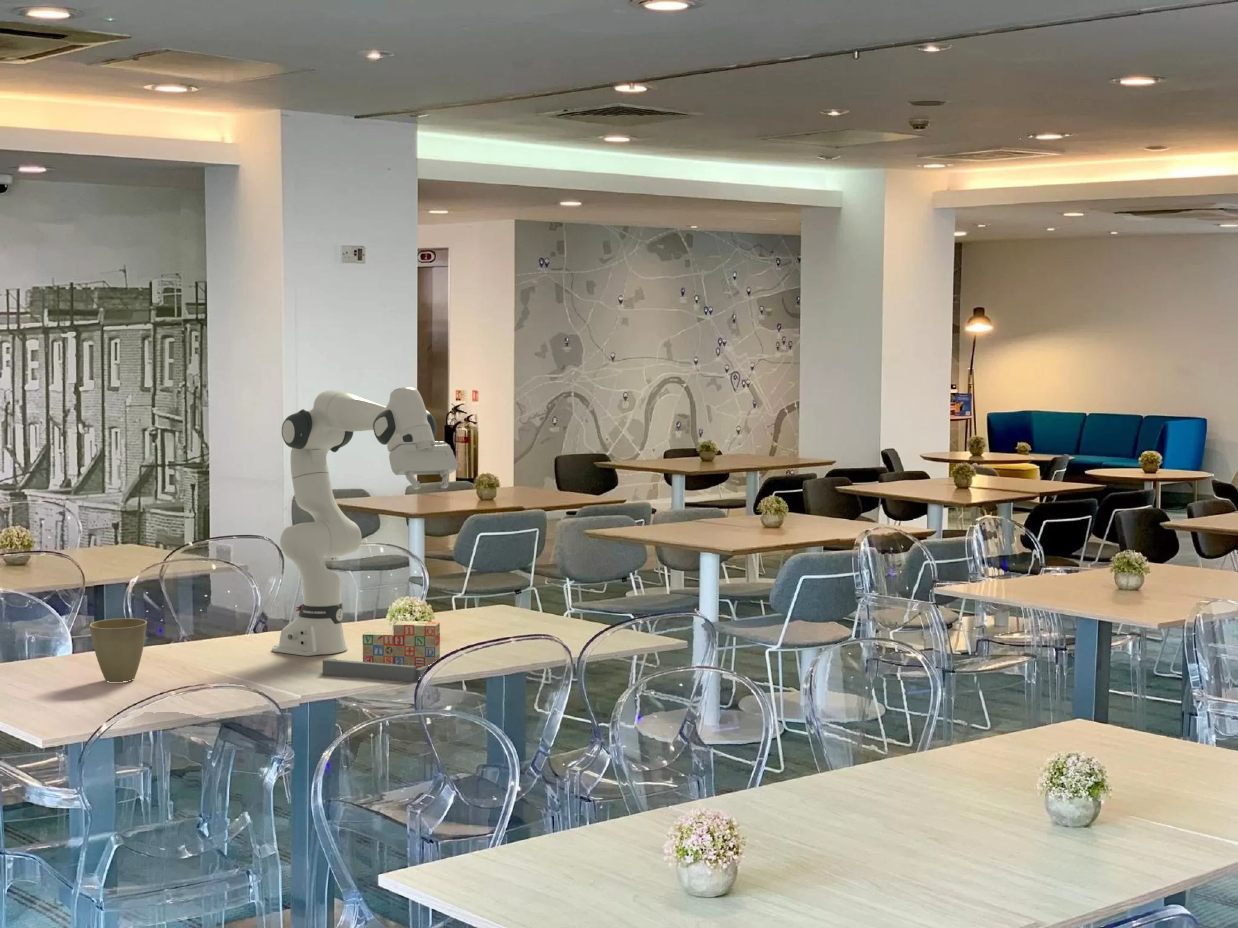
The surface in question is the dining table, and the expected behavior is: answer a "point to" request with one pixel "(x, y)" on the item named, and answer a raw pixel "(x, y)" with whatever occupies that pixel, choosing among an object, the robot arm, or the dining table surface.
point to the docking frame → (372, 670)
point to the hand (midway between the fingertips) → (431, 488)
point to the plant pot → (118, 647)
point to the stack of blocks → (404, 644)
